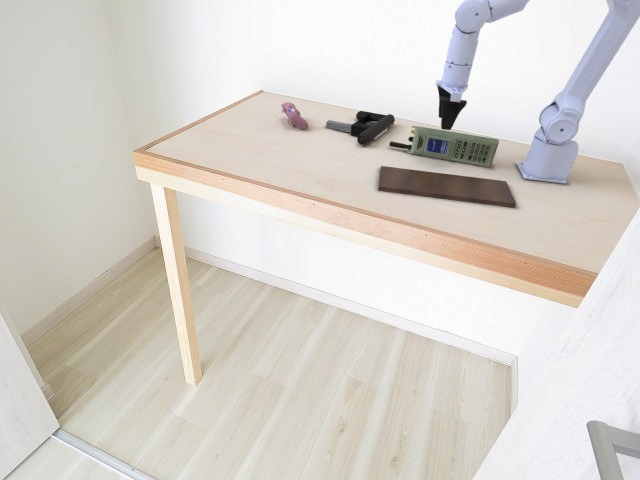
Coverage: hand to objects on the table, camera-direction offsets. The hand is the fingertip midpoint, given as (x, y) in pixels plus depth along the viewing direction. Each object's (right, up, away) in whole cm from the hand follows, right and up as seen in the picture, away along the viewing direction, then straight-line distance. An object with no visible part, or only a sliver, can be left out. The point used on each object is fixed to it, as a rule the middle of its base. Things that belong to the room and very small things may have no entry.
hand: (444, 123), depth 98 cm
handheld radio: (0, -7, +5) cm, 9 cm away
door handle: (-19, +3, +17) cm, 25 cm away
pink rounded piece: (-37, +5, +18) cm, 41 cm away
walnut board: (-2, -16, -8) cm, 18 cm away
